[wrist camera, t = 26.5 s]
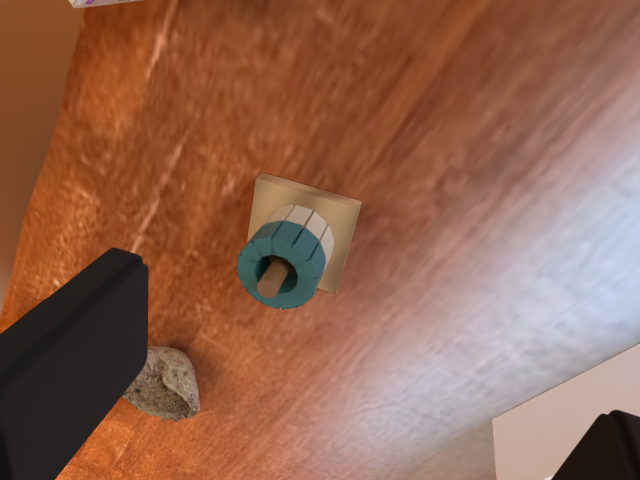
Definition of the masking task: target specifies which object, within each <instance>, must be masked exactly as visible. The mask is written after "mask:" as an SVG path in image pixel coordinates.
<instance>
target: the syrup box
mask: <svg viewBox="0 0 640 480" xmlns="http://www.w3.org/2000/svg"><path fill="white" fill-rule="evenodd" d="M68 1H69V2H70V3H71V5H72V6H73V7H74V8H85V7H94V6H102V5H110V4H118V3H126V2H134V1H143V0H68Z"/></svg>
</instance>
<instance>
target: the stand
mask: <svg viewBox="0 0 640 480" xmlns="http://www.w3.org/2000/svg"><path fill="white" fill-rule="evenodd" d="M361 203H362V201H359V200H355V199H352V198H348V197H345V196H342V195H338V194H335V193H331V192H328V191H324V190H321V189H317V188H314V187H311V186H307V185H304V184H300V183H297V182H293V181H290V180H287V179H283V178H280V177H276V176H273V175H269V174H266V173H261V174H260V175H259V176H258V177H257V178H256V181H255V188H254V196H253V203H252V210H251V217H250V224H249V232H248V239H247V242H248V241H249V240H250V239H251V237H252V236H253V235H254V234H255V232H256V231H257V230H258V228H259V227H260V226H261V225H262V223H263V222H264V221H265V219H266V218H267V217H268V216H269V215H270V214H271V213H272V212H273V211H274V210H275V209H276V210H277V209H278V208H280V207H285V206H289V205H294V207H295V206H296V205H298V206H301V207H305V208H308V209H311V210H312V213H313V212H314V211H315V212H316V213H318V214H319V215H320V216H321V217H322V218H323V219H324V220H325V221H326V222H327V225H329V226H330V229H331V232H332V235H333V238H334V247H333V251H332V255H331V258H330V260H329V262H328V264H327V266H326V269H325V271H324V273H323V275H322V278H321V280H320V282H319V284H318V286H317V288H318V289H321V290H324V291H327V292H331V293H334V294H336V293H337V290H338V288H339V285H340V281H341V278H342V274H343V270H344V266H345V263H346V259H347V255H348V252H349V248H350V244H351V240H352V237H353V233H354V229H355V226H356V222H357V218H358V214H359V211H360V207H361ZM327 225H326V226H327ZM292 266H293V265H292V264H291V263H290V262H289V261H288V260H287V259H285V258H282V257H279V256H275V257H274V259H273V261H272V262H271V264H270V265H269V267H268V268H267V270H266V271H265V273H264V274H263V276H262V278H261V279H260V281H259V282H258V284H257V290H258V292H259V294H260V295H261V296H263V297H265V298H273V297H275V296H276V294H277V293H278V291H279V289H280V287H281V286H282V284H283V282H284V280H285V279H286V277H287V275H288V273H289V272H290V270H291V268H292Z"/></svg>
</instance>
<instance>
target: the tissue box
mask: <svg viewBox="0 0 640 480" xmlns="http://www.w3.org/2000/svg"><path fill="white" fill-rule="evenodd" d="M613 410H620V411H624V412H627V413H630V414H633V415H636V416H639V417H640V344H638V345H636V346H634V347H632V348H630V349H628V350H626V351H624V352H622V353H620V354H618V355H616V356H614V357H612V358H610V359H609V360H607V361H605V362H603V363H601V364H599V365H597V366H595V367H593V368H591V369H589V370H587V371H585V372H583V373H581V374H579V375H577V376H575V377H573V378H571V379H570V380H568V381H566V382H564V383H562V384H560V385H558V386H556V387H554V388H552V389H550V390H548V391H546V392H544V393H542V394H540V395H538V396H536V397H534V398H533V399H531V400H529V401H527V402H525V403H523V404H521V405H519V406H517V407H515V408H513V409H511V410H509V411H507V412H505V413H503V414H501V415H499V416H497V417H495V418H494V419H492V425H493V439H494V453H495V466H496V480H551V479H552V477H553V476H554V475H555V473H556V472H557V471H558V469H559V468H560V467H561V465H562V464H563V463H564V461H565V460H566V459H567V457H568V456H569V455H570V453H571V452H572V451H573V449H574V448H575V447H576V445H577V444H578V443H579V441H580V440H581V439H582V437H583V436H584V435H585V433H586V432H587V430H588V429H589V428H590V426H591V425H592V424H593V422H594V421H595V420H596V418H597V417H598V416H599V415H600V414H609V413H610V412H611V411H613Z"/></svg>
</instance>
